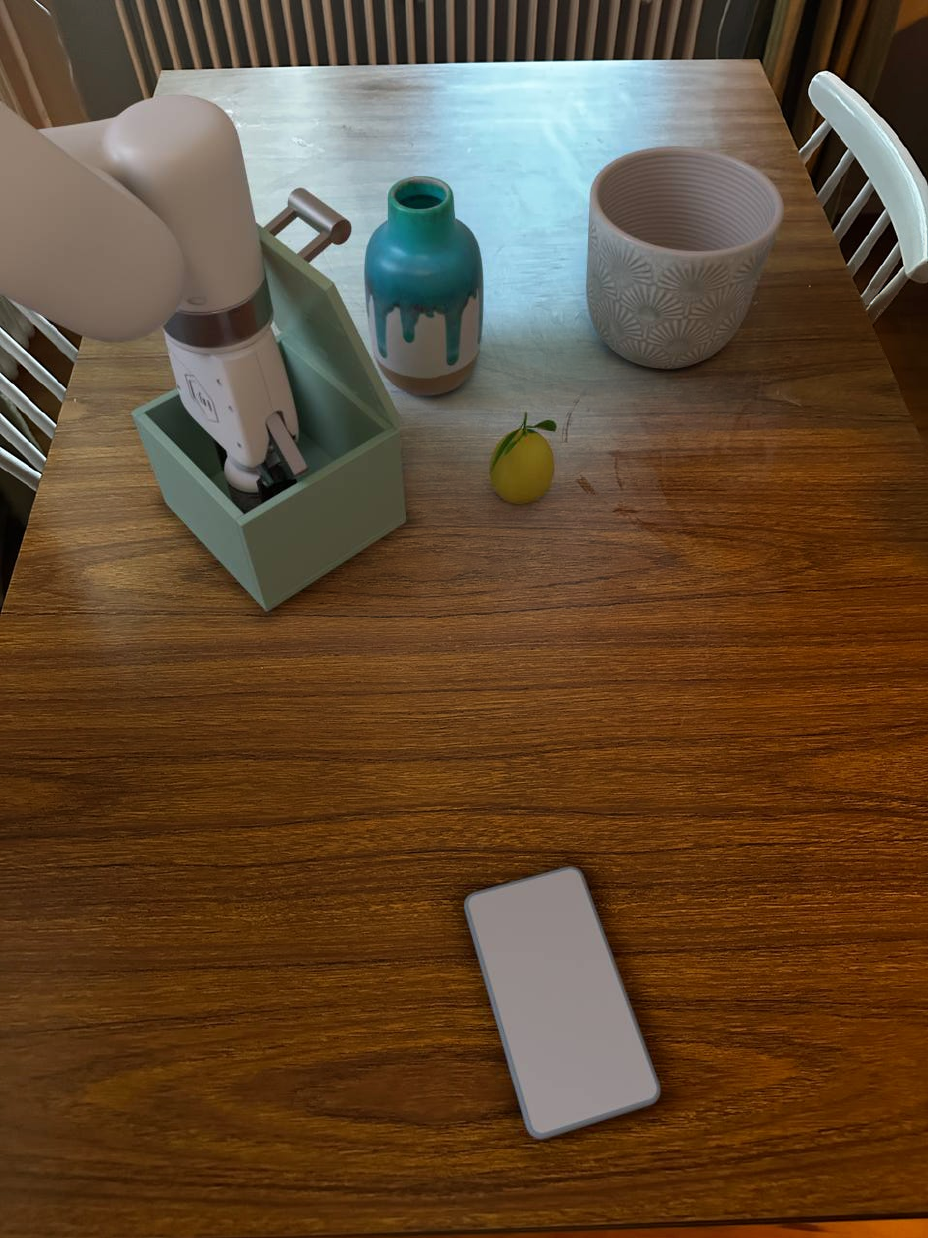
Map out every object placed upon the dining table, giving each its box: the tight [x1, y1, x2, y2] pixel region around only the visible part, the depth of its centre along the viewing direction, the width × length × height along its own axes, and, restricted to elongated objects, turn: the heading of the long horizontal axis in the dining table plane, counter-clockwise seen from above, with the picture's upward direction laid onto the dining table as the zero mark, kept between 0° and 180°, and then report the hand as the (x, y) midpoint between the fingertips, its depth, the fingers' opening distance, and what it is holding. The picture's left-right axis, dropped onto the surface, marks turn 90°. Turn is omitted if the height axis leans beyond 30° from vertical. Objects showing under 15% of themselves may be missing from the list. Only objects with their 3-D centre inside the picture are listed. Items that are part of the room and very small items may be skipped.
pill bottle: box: [224, 451, 280, 515], centre depth 78 cm, size 5×5×9 cm
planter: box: [585, 145, 785, 370], centre depth 90 cm, size 17×17×15 cm
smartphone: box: [463, 865, 661, 1141], centre depth 60 cm, size 8×1×15 cm
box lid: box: [256, 187, 403, 429], centre depth 70 cm, size 15×16×6 cm
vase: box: [363, 175, 485, 396], centre depth 85 cm, size 11×11×19 cm
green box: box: [130, 332, 407, 613], centre depth 79 cm, size 15×16×11 cm
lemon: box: [489, 411, 558, 505], centre depth 80 cm, size 7×6×10 cm
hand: (261, 484), depth 79 cm, fingers closed on pill bottle, 5 cm apart
